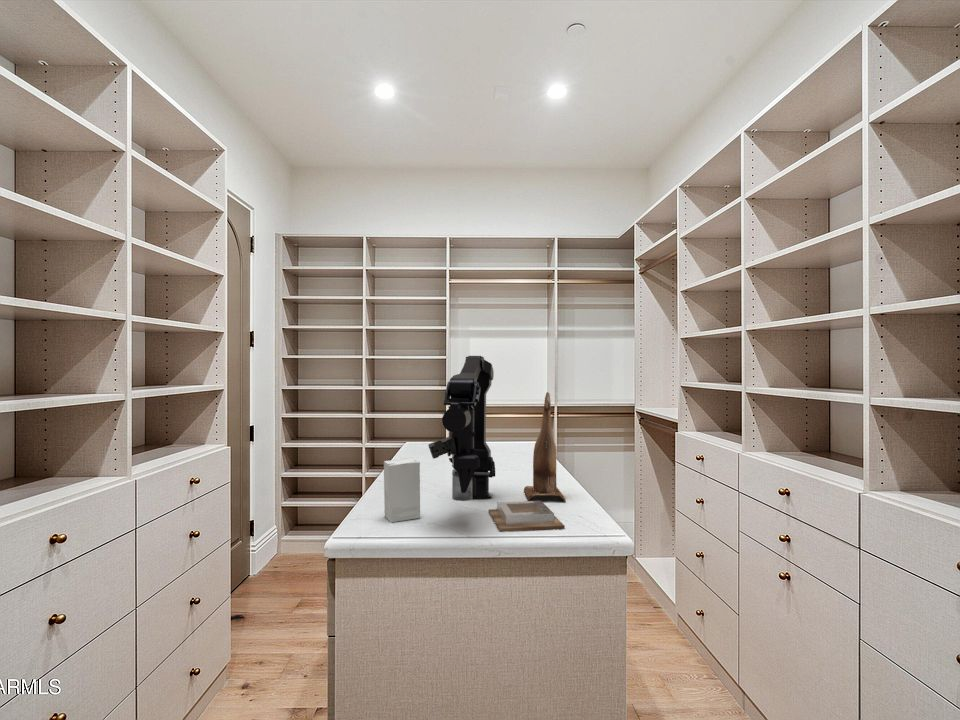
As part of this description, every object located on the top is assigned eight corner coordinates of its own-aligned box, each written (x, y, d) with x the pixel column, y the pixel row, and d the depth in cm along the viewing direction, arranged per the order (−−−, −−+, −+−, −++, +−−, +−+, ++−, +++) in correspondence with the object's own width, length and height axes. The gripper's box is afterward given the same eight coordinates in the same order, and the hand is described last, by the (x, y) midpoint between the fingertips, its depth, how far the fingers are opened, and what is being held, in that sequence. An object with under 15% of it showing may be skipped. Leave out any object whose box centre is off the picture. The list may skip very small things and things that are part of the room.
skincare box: (413, 513, 133) (414, 457, 133) (421, 519, 127) (421, 461, 127) (382, 517, 129) (383, 459, 129) (389, 523, 124) (389, 463, 124)
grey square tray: (497, 511, 132) (497, 502, 132) (541, 509, 133) (541, 500, 134) (506, 525, 120) (506, 515, 120) (554, 523, 122) (554, 513, 122)
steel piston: (451, 496, 126) (451, 468, 127) (471, 495, 127) (471, 467, 127) (453, 501, 121) (453, 472, 122) (473, 500, 122) (473, 472, 122)
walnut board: (488, 512, 133) (488, 509, 133) (546, 510, 136) (546, 507, 136) (499, 531, 118) (499, 528, 118) (564, 529, 120) (564, 525, 120)
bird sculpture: (528, 504, 143) (530, 393, 142) (522, 492, 155) (524, 390, 154) (566, 504, 144) (568, 393, 143) (557, 492, 155) (559, 390, 155)
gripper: (428, 423, 133) (428, 482, 132) (432, 432, 114) (431, 501, 114) (470, 423, 134) (469, 481, 134) (480, 432, 116) (479, 499, 116)
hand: (462, 489), depth 124 cm, fingers closed on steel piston, 5 cm apart
